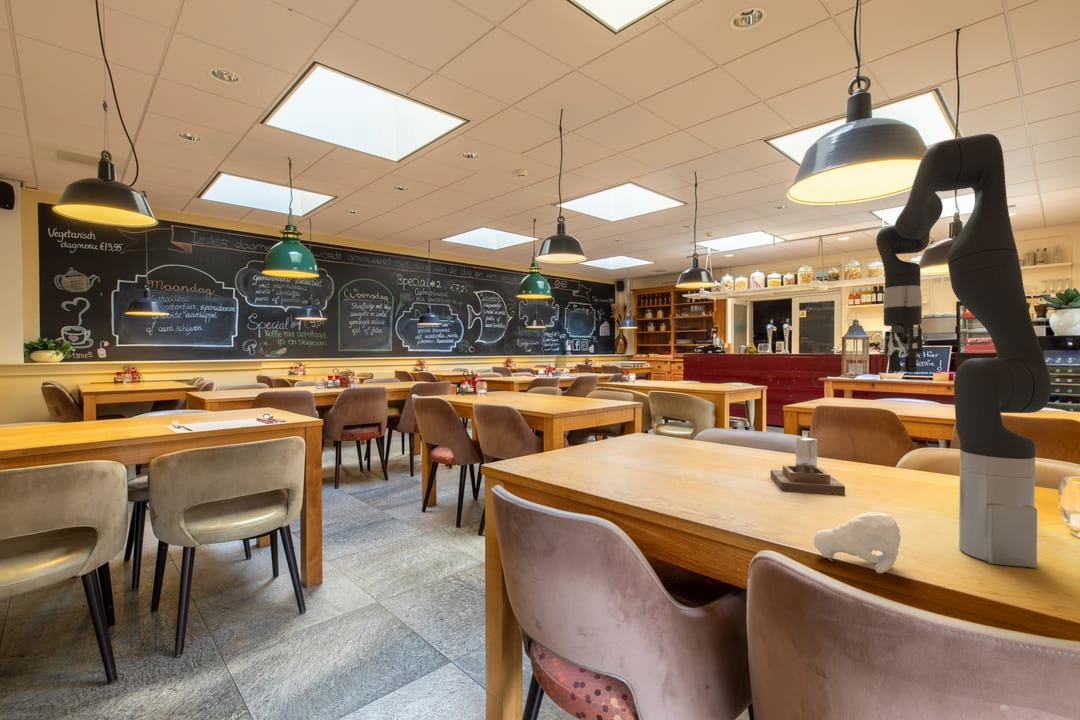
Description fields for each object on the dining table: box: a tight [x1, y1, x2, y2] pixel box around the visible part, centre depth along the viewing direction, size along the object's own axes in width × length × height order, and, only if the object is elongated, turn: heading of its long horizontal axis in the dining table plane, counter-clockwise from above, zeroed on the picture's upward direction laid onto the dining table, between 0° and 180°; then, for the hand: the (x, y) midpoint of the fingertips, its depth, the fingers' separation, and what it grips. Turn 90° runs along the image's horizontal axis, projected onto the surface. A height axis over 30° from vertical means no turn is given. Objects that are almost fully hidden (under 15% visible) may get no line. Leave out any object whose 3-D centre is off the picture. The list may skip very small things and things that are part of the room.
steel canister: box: [795, 436, 818, 473], centre depth 126 cm, size 5×5×10 cm
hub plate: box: [770, 464, 846, 495], centre depth 126 cm, size 14×14×4 cm
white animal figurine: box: [813, 511, 902, 574], centre depth 79 cm, size 6×8×12 cm
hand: (902, 371), depth 120 cm, fingers open, 8 cm apart
